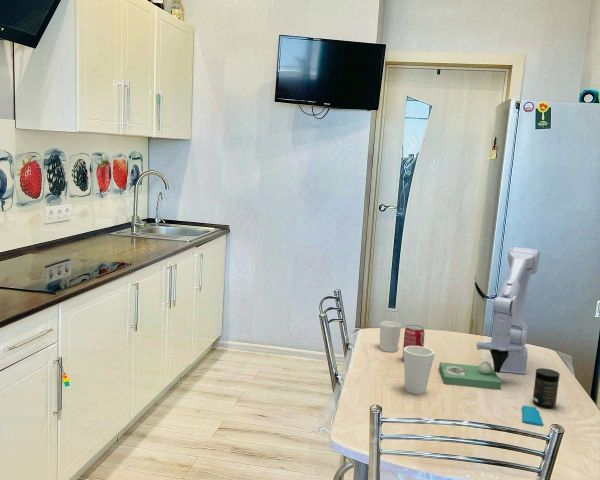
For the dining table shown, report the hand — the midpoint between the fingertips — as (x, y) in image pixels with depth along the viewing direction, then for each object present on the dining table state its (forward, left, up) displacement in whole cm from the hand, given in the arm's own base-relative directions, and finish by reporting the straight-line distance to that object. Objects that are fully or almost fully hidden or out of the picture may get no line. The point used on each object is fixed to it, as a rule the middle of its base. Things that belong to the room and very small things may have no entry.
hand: (496, 371), depth 197 cm
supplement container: (-11, +16, -4) cm, 20 cm away
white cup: (+35, -24, -4) cm, 43 cm away
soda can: (+27, -12, -4) cm, 30 cm away
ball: (+4, 0, +1) cm, 4 cm away
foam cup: (+28, +15, -4) cm, 32 cm away
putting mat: (+9, 0, -3) cm, 10 cm away
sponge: (-5, +26, -4) cm, 27 cm away
